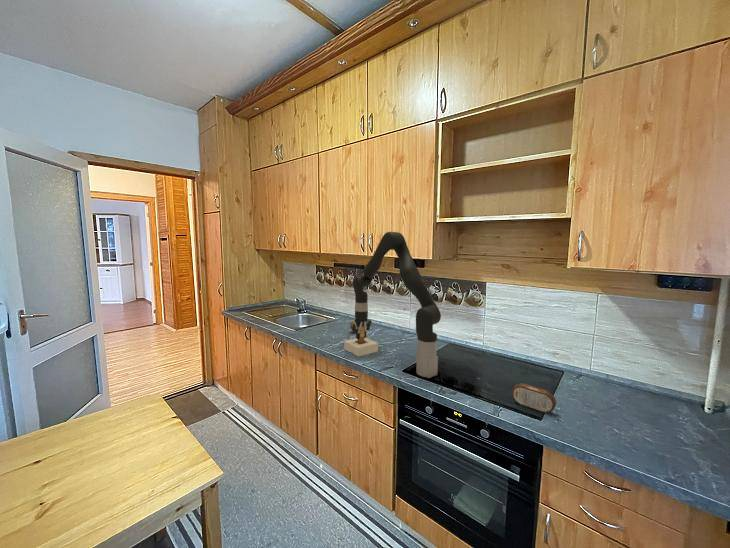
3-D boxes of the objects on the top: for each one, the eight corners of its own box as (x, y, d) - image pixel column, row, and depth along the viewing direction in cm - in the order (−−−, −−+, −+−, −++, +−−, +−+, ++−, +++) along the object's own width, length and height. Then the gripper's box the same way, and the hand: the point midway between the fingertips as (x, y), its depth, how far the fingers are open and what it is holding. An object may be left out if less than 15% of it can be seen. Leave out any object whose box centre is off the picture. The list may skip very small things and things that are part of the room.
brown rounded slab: (555, 413, 114) (557, 392, 113) (553, 417, 112) (555, 396, 111) (512, 399, 124) (514, 380, 123) (510, 402, 122) (511, 382, 121)
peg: (365, 344, 176) (365, 324, 174) (360, 346, 173) (360, 326, 172) (361, 342, 179) (361, 323, 177) (356, 344, 176) (356, 324, 175)
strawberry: (362, 332, 209) (362, 318, 208) (353, 334, 204) (353, 320, 203) (356, 330, 214) (356, 316, 212) (348, 332, 209) (348, 318, 207)
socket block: (377, 351, 175) (377, 343, 174) (358, 356, 167) (358, 348, 166) (363, 344, 186) (363, 336, 186) (344, 349, 178) (344, 341, 177)
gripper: (354, 312, 166) (354, 342, 168) (375, 309, 175) (374, 337, 177) (347, 310, 172) (347, 339, 174) (367, 306, 181) (366, 334, 183)
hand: (361, 338), depth 176 cm, fingers closed on peg, 3 cm apart
